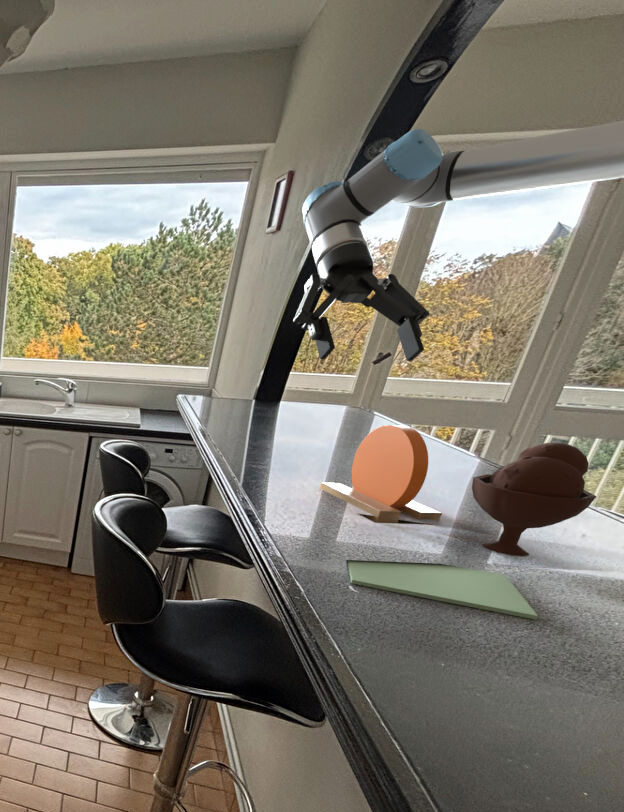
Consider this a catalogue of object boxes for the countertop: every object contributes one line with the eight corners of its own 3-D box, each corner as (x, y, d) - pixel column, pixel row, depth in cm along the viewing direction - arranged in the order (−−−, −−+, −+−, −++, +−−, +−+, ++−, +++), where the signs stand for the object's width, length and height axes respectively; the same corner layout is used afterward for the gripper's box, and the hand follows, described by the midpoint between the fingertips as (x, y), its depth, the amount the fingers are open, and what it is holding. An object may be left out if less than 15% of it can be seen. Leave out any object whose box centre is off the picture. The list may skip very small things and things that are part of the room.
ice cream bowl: (451, 533, 85) (491, 430, 80) (562, 555, 78) (614, 444, 72) (443, 553, 78) (486, 441, 73) (563, 579, 71) (622, 458, 65)
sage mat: (503, 578, 71) (505, 574, 71) (536, 620, 62) (538, 616, 61) (343, 550, 79) (344, 546, 79) (351, 583, 69) (352, 579, 69)
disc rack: (370, 498, 100) (375, 484, 99) (437, 529, 87) (443, 513, 86) (315, 496, 101) (320, 482, 100) (373, 527, 87) (378, 510, 86)
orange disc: (354, 494, 99) (380, 417, 94) (409, 522, 88) (441, 436, 82) (342, 493, 100) (367, 417, 94) (394, 522, 88) (426, 436, 82)
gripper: (401, 276, 106) (434, 371, 98) (258, 274, 108) (278, 367, 100) (433, 240, 99) (472, 339, 91) (280, 239, 101) (304, 336, 93)
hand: (371, 354), depth 95 cm, fingers open, 13 cm apart
